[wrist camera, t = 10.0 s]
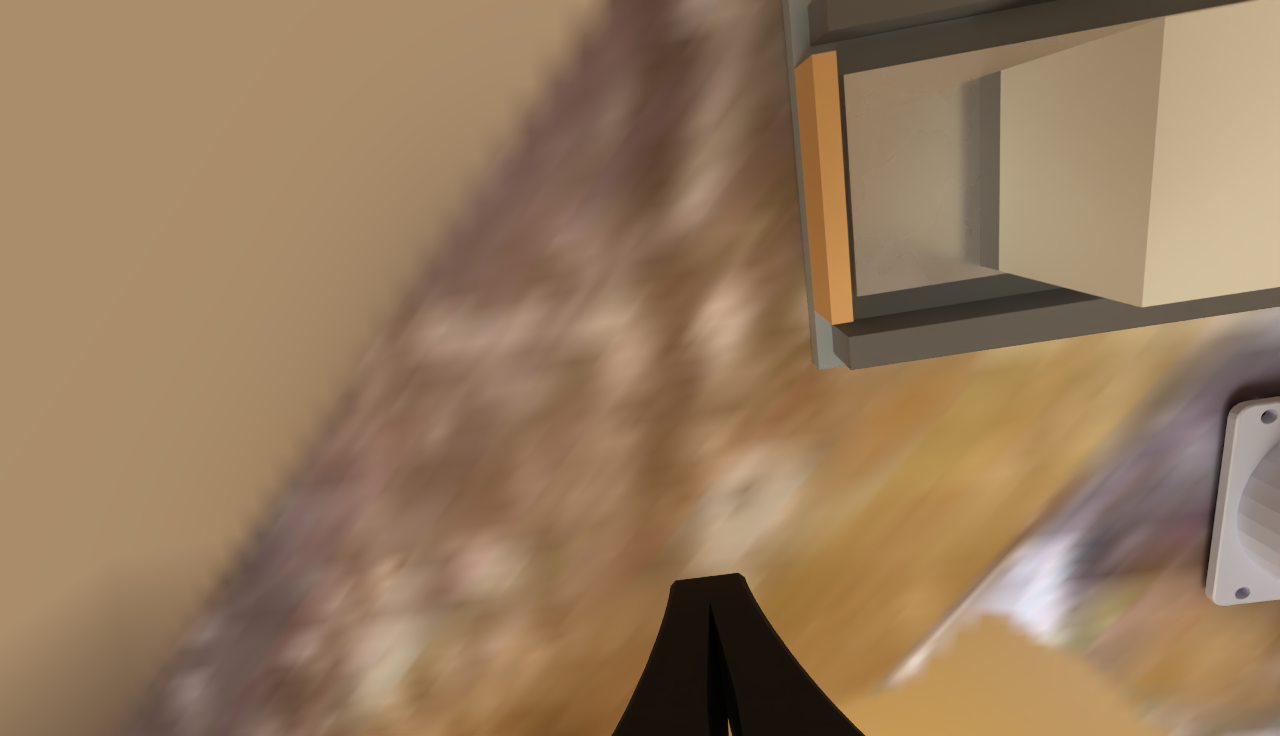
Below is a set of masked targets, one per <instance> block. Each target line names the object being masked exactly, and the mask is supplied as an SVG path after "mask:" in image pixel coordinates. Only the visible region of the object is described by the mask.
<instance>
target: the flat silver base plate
mask: <svg viewBox="0 0 1280 736" xmlns="http://www.w3.org/2000/svg"><path fill="white" fill-rule="evenodd" d="M1252 1H1257V0H1249V1H1243V2H1238V3H1232V4H1227V5H1221V6H1216V7H1211V8H1205V9H1200V10H1194V11H1189V12H1183V13H1178V14H1172V15H1167V16H1162V17H1156V18H1151V19H1145V20H1140V21H1134V22H1129V23H1123V24H1118V25H1113V26H1107V27H1102V28H1096V29H1091V30H1085V31H1080V32H1074V33H1069V34H1064V35H1058V36H1053V37H1047V38H1042V39H1036V40H1031V41H1026V42H1020V43H1015V44H1009V45H1004V46H998V47H993V48H987V49H982V50H977V51H971V52H966V53H960V54H955V55H949V56H944V57H938V58H933V59H928V60H922V61H917V62H911V63H906V64H900V65H895V66H890V67H884V68H879V69H873V70H868V71H862V72H857V73H851V74H846V75H843V76H841V77H839V78H838V87H839V103H840V118H841V134H842V150H843V165H844V181H845V197H846V212H847V228H848V244H849V259H850V275H851V290H852V294H853V295H855V296H857V297H858V296H865V295H871V294H878V293H884V292H890V291H897V290H903V289H909V288H916V287H922V286H928V285H935V284H941V283H948V282H954V281H960V280H967V279H973V278H979V277H986V276H992V275H999V274H1005V273H1006V272H1002V271H998V270H994V269H990V268H986V267H983V266H980V77H983V76H986V75H989V74H992V73H995V72H998V71H1001V70H1004V69H1007V68H1010V67H1013V66H1017V65H1020V64H1023V63H1026V62H1029V61H1032V60H1035V59H1038V58H1041V57H1044V56H1047V55H1051V54H1054V53H1057V52H1060V51H1063V50H1066V49H1069V48H1072V47H1075V46H1078V45H1081V44H1085V43H1088V42H1091V41H1094V40H1097V39H1100V38H1103V37H1106V36H1109V35H1112V34H1115V33H1118V32H1122V31H1125V30H1128V29H1131V28H1134V27H1137V26H1140V25H1143V24H1146V23H1149V22H1152V21H1156V20H1159V19H1162V18H1165V17H1170V16H1175V15H1181V14H1186V13H1192V12H1197V11H1203V10H1208V9H1214V8H1219V7H1225V6H1230V5H1236V4H1241V3H1247V2H1252Z"/></svg>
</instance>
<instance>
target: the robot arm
mask: <svg viewBox="0 0 1280 736" xmlns="http://www.w3.org/2000/svg"><path fill="white" fill-rule="evenodd" d="M1265 411H1266V413H1265V415H1264V416H1263V417H1262V418H1261V416H1262V414H1263V413H1264V412H1265ZM1205 592H1206V596H1207V597H1208V598H1209V599H1211V600H1212V601H1213V602H1214V603H1216V604H1218V605H1234V604H1243V603H1251V602H1260V601H1269V600H1277V599H1280V396H1278V397H1271V398H1264V399H1257V400H1249V401H1244V402H1241V403H1238V404H1237V405H1235V406H1234V407H1233V408H1232V409H1231V410H1230V412H1229V415H1228V419H1227V427H1226V435H1225V442H1224V450H1223V458H1222V466H1221V473H1220V481H1219V489H1218V496H1217V504H1216V512H1215V520H1214V527H1213V535H1212V543H1211V550H1210V558H1209V566H1208V574H1207V581H1206V589H1205ZM728 720H729V724H730V728H731V733H732V736H865V735H864V734H863V733H862V732H861V731H860V730H859V729H858V728H857V727H856V726H855V725H854V724H853V723H852V722H851V721H850V720H849V719H848V718H847V717H846V716H845V715H844V714H843V713H842V712H841V711H840V710H839V709H838V708H837V707H836V706H835V704H834V703H833V702H832V701H831V700H830V699H829V698H828V697H827V696H826V695H825V693H824V692H823V691H822V690H821V689H820V688H819V687H818V685H817V684H816V683H815V682H814V681H813V679H812V678H811V677H810V676H809V675H808V673H807V672H806V671H805V670H804V669H803V667H802V666H801V665H800V664H799V662H798V661H797V660H796V659H795V657H794V656H793V655H792V653H791V652H790V651H789V649H788V648H787V647H786V645H785V644H784V642H783V641H782V640H781V638H780V637H779V636H778V634H777V633H776V631H775V630H774V629H773V627H772V626H771V624H770V623H769V621H768V620H767V618H766V616H765V615H764V613H763V612H762V610H761V608H760V607H759V605H758V603H757V602H756V600H755V598H754V596H753V594H752V593H751V591H750V589H749V586H748V584H747V582H746V579H745V577H743V576H742V575H741V574H739V573H733V574H725V575H717V576H709V577H701V578H693V579H685V580H677V581H675V582H674V583H673V584H672V585H671V588H670V594H669V599H668V603H667V607H666V611H665V614H664V618H663V621H662V624H661V627H660V630H659V633H658V636H657V638H656V641H655V644H654V646H653V649H652V652H651V654H650V657H649V660H648V662H647V664H646V667H645V669H644V671H643V674H642V676H641V678H640V680H639V682H638V685H637V687H636V689H635V691H634V693H633V695H632V698H631V700H630V702H629V704H628V706H627V708H626V710H625V712H624V714H623V716H622V718H621V720H620V721H619V723H618V725H617V727H616V729H615V731H614V732H613V734H612V736H729V732H728Z"/></svg>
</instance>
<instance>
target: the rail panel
mask: <svg viewBox="0 0 1280 736" xmlns="http://www.w3.org/2000/svg"><path fill="white" fill-rule="evenodd" d="M1243 1H1249V0H782V8H783V20H784V31H785V43H786V55H787V66H788V78H789V89H790V101H791V113H792V124H793V136H794V148H795V159H796V171H797V182H798V194H799V206H800V217H801V229H802V241H803V252H804V264H805V276H806V287H807V299H808V310H809V322H810V334H811V345H812V357H813V364H814V365H815V366H816V367H817V368H818V369H819V370H823V369H830V368H837V367H844V366H847V367H849V368H850V369H851V370H854V369H861V368H867V367H874V366H881V365H888V364H894V363H901V362H908V361H915V360H921V359H928V358H935V357H942V356H948V355H955V354H962V353H969V352H975V351H982V350H989V349H996V348H1002V347H1009V346H1016V345H1023V344H1029V343H1036V342H1043V341H1050V340H1056V339H1063V338H1070V337H1077V336H1083V335H1090V334H1097V333H1104V332H1110V331H1117V330H1124V329H1131V328H1137V327H1144V326H1151V325H1158V324H1164V323H1171V322H1178V321H1185V320H1191V319H1198V318H1205V317H1212V316H1218V315H1225V314H1232V313H1239V312H1245V311H1252V310H1259V309H1266V308H1272V307H1279V306H1280V287H1276V288H1269V289H1262V290H1256V291H1249V292H1242V293H1236V294H1229V295H1222V296H1215V297H1209V298H1202V299H1195V300H1189V301H1182V302H1175V303H1169V304H1162V305H1155V306H1149V307H1138V306H1134V305H1130V304H1126V303H1122V302H1118V301H1115V300H1111V299H1107V298H1103V297H1099V296H1095V295H1091V294H1087V293H1084V292H1080V291H1076V290H1072V289H1068V288H1064V287H1060V286H1056V285H1052V284H1049V283H1045V282H1041V281H1037V280H1033V279H1029V278H1025V277H1021V276H1018V275H1014V274H1010V273H1005V274H999V275H992V276H986V277H979V278H973V279H967V280H960V281H954V282H948V283H941V284H935V285H928V286H922V287H916V288H909V289H903V290H897V291H890V292H884V293H878V294H871V295H865V296H858V297H857V296H855V295H853V294H852V290H851V275H850V259H849V244H848V228H847V212H846V197H845V181H844V165H843V150H842V134H841V118H840V103H839V87H838V78H839V77H841V76H843V75H846V74H851V73H857V72H862V71H868V70H873V69H879V68H884V67H890V66H895V65H900V64H906V63H911V62H917V61H922V60H928V59H933V58H938V57H944V56H949V55H955V54H960V53H966V52H971V51H977V50H982V49H987V48H993V47H998V46H1004V45H1009V44H1015V43H1020V42H1026V41H1031V40H1036V39H1042V38H1047V37H1053V36H1058V35H1064V34H1069V33H1074V32H1080V31H1085V30H1091V29H1096V28H1102V27H1107V26H1113V25H1118V24H1123V23H1129V22H1134V21H1140V20H1145V19H1151V18H1156V17H1162V16H1167V15H1172V14H1178V13H1183V12H1189V11H1194V10H1200V9H1205V8H1211V7H1216V6H1221V5H1227V4H1232V3H1238V2H1243Z"/></svg>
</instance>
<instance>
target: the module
mask: <svg viewBox="0 0 1280 736" xmlns="http://www.w3.org/2000/svg"><path fill="white" fill-rule="evenodd" d="M980 266H983V267H986V268H990V269H994V270H998V271H1002V272H1006V273H1010V274H1014V275H1018V276H1021V277H1025V278H1029V279H1033V280H1037V281H1041V282H1045V283H1049V284H1052V285H1056V286H1060V287H1064V288H1068V289H1072V290H1076V291H1080V292H1084V293H1087V294H1091V295H1095V296H1099V297H1103V298H1107V299H1111V300H1115V301H1118V302H1122V303H1126V304H1130V305H1134V306H1138V307H1149V306H1155V305H1162V304H1169V303H1175V302H1182V301H1189V300H1195V299H1202V298H1209V297H1215V296H1222V295H1229V294H1236V293H1242V292H1249V291H1256V290H1262V289H1269V288H1276V287H1280V0H1257V1H1252V2H1247V3H1241V4H1236V5H1230V6H1225V7H1219V8H1214V9H1208V10H1203V11H1197V12H1192V13H1186V14H1181V15H1175V16H1170V17H1165V18H1162V19H1159V20H1156V21H1152V22H1149V23H1146V24H1143V25H1140V26H1137V27H1134V28H1131V29H1128V30H1125V31H1122V32H1118V33H1115V34H1112V35H1109V36H1106V37H1103V38H1100V39H1097V40H1094V41H1091V42H1088V43H1085V44H1081V45H1078V46H1075V47H1072V48H1069V49H1066V50H1063V51H1060V52H1057V53H1054V54H1051V55H1047V56H1044V57H1041V58H1038V59H1035V60H1032V61H1029V62H1026V63H1023V64H1020V65H1017V66H1013V67H1010V68H1007V69H1004V70H1001V71H998V72H995V73H992V74H989V75H986V76H983V77H980Z"/></svg>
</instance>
